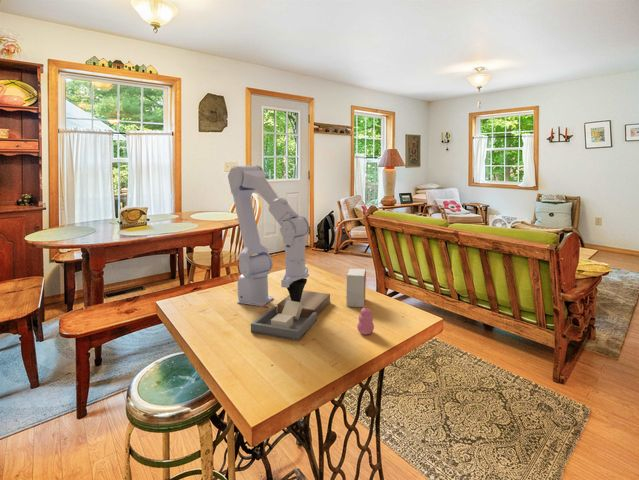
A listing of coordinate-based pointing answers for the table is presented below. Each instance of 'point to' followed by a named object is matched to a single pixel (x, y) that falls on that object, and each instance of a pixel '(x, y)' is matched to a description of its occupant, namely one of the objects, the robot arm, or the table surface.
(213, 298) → the table surface
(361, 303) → the small box
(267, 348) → the table surface
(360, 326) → the dog chew toy
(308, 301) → the walnut plate
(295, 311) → the rear tile
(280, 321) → the front tile
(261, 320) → the box
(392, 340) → the table surface
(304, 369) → the table surface
